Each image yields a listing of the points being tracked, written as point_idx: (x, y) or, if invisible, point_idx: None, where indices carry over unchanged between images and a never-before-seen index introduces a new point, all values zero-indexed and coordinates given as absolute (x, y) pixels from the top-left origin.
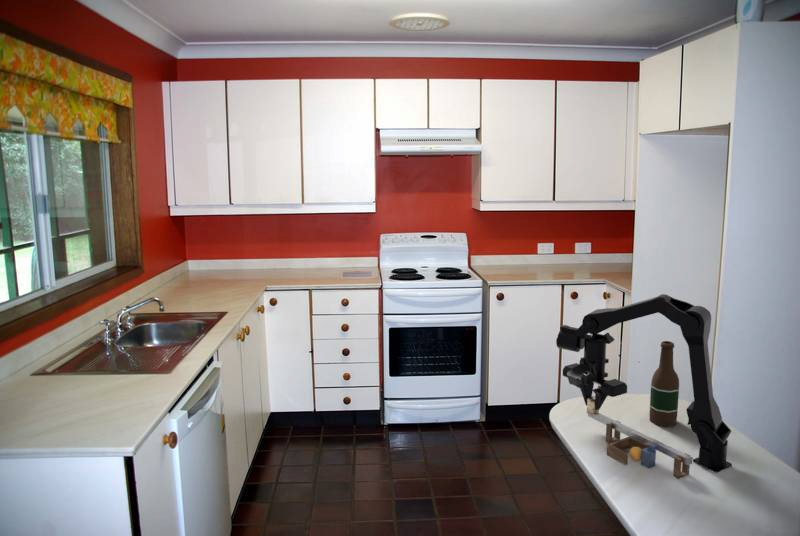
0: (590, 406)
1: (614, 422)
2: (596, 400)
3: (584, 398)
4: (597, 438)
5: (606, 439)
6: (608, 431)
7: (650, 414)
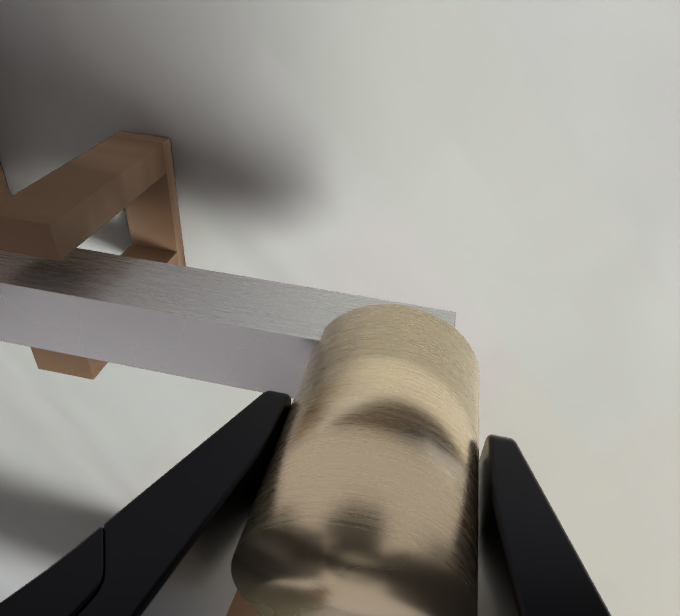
0: (350, 406)
1: (1, 303)
2: (143, 542)
3: (543, 549)
4: (254, 122)
5: (151, 144)
6: (69, 181)
7: (233, 605)
